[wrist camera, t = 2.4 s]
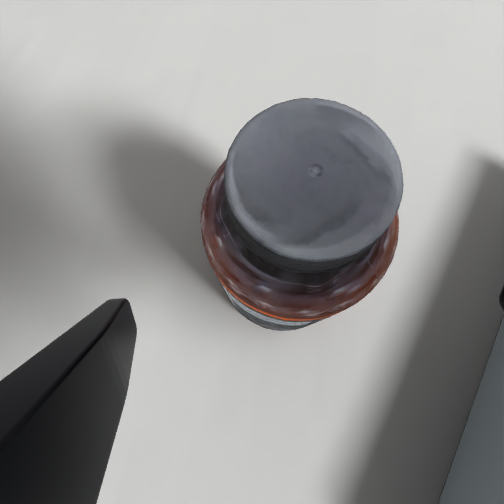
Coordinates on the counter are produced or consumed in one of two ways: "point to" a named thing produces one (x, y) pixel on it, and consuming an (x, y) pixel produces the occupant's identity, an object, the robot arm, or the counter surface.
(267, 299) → the supplement bottle
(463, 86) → the counter surface
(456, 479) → the gray square tray
